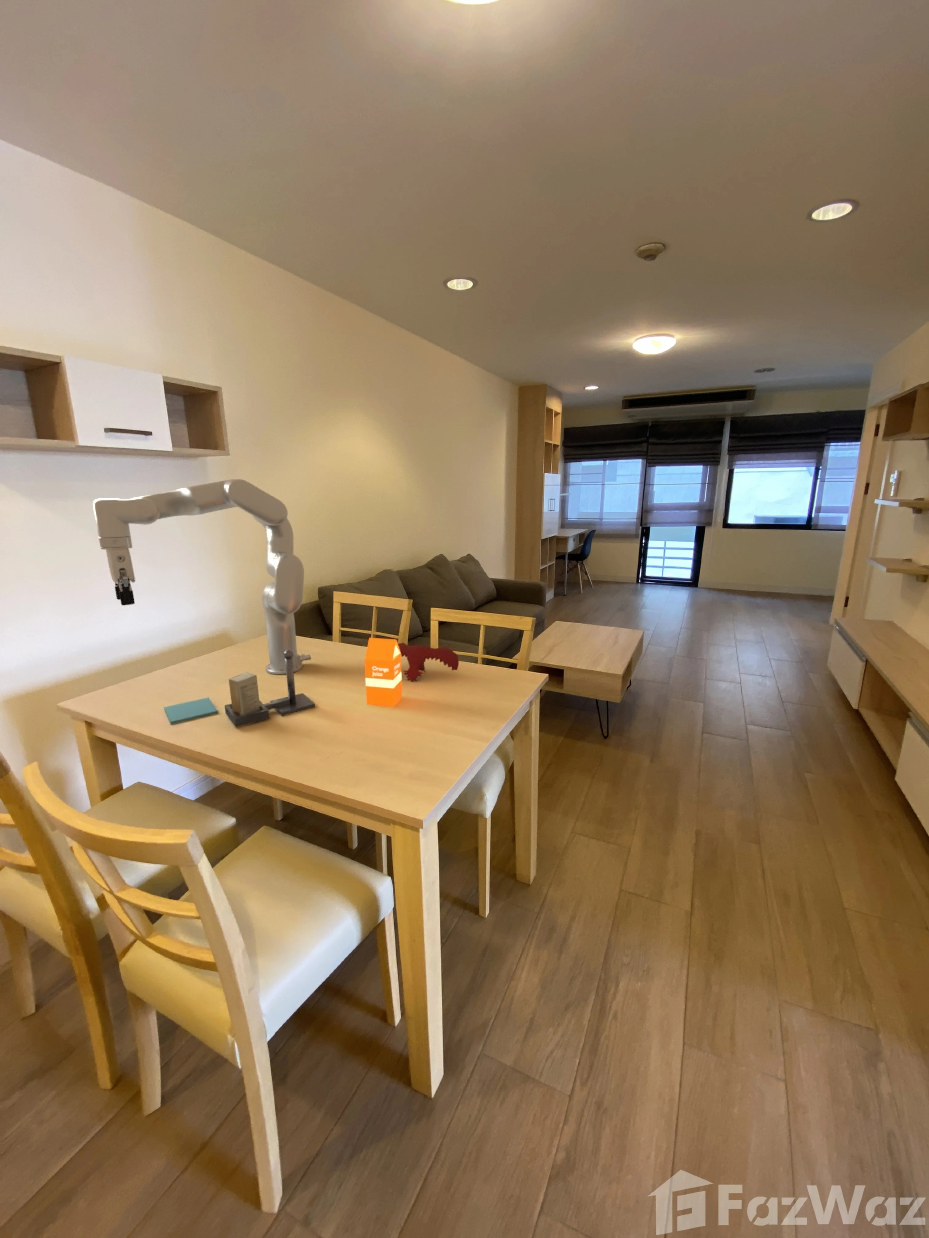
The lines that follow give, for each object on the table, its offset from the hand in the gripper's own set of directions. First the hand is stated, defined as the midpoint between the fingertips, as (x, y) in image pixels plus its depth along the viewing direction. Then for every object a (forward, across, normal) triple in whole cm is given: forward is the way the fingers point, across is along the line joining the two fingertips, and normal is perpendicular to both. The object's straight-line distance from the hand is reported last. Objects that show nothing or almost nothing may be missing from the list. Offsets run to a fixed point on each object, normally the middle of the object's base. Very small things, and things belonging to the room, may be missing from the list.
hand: (125, 601), depth 146 cm
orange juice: (+31, -48, -58) cm, 81 cm away
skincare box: (+31, -34, -21) cm, 50 cm away
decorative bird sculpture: (+31, -37, -78) cm, 92 cm away
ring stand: (+31, -34, -28) cm, 54 cm away
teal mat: (+31, -19, -10) cm, 38 cm away
